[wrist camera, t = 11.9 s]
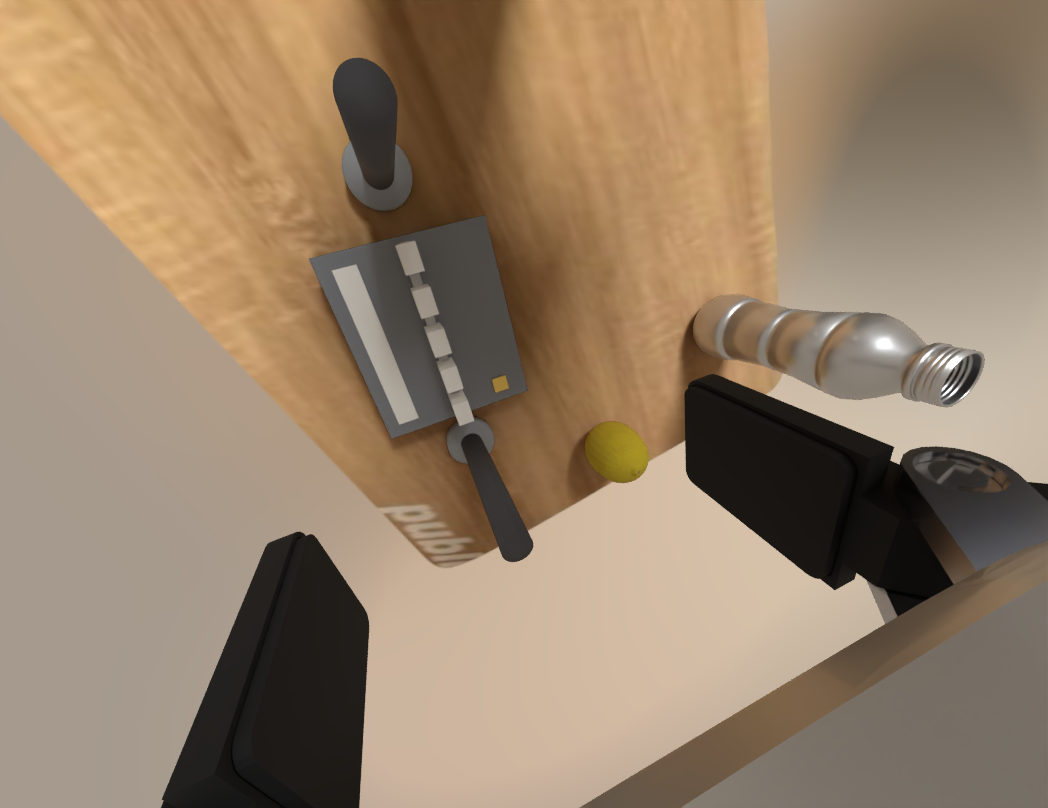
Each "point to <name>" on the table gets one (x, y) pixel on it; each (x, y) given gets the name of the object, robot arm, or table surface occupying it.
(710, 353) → the plastic bottle
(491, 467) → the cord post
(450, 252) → the breaker panel
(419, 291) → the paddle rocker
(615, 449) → the lemon
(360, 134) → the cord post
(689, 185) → the table surface
